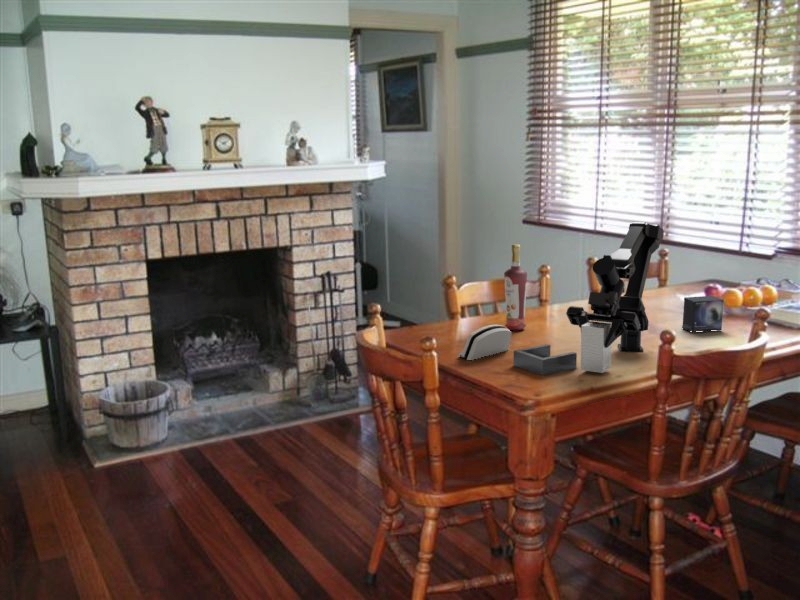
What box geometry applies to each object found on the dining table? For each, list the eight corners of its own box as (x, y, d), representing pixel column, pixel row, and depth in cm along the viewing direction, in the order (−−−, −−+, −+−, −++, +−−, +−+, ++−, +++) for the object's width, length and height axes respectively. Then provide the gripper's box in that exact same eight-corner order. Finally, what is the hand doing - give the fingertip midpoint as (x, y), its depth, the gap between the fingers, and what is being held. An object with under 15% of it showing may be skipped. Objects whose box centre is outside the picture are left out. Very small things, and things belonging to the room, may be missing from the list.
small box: (692, 333, 253) (694, 301, 251) (681, 329, 259) (682, 297, 257) (722, 331, 255) (724, 298, 253) (710, 326, 261) (712, 295, 259)
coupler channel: (546, 358, 229) (546, 344, 228) (576, 368, 219) (576, 352, 218) (513, 365, 223) (513, 350, 222) (542, 375, 213) (542, 360, 212)
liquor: (531, 329, 263) (532, 244, 258) (513, 333, 259) (514, 246, 254) (516, 325, 269) (517, 242, 264) (499, 329, 266) (499, 244, 260)
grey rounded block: (496, 347, 243) (504, 318, 238) (507, 355, 240) (516, 325, 235) (457, 357, 232) (465, 328, 228) (468, 366, 229) (476, 336, 225)
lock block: (588, 364, 218) (589, 320, 216) (610, 367, 215) (611, 322, 212) (580, 369, 213) (581, 324, 211) (602, 373, 210) (603, 327, 208)
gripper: (569, 276, 218) (552, 325, 211) (637, 282, 207) (622, 333, 201) (579, 300, 226) (563, 347, 219) (646, 306, 215) (631, 356, 209)
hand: (594, 345), depth 212 cm, fingers closed on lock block, 6 cm apart
